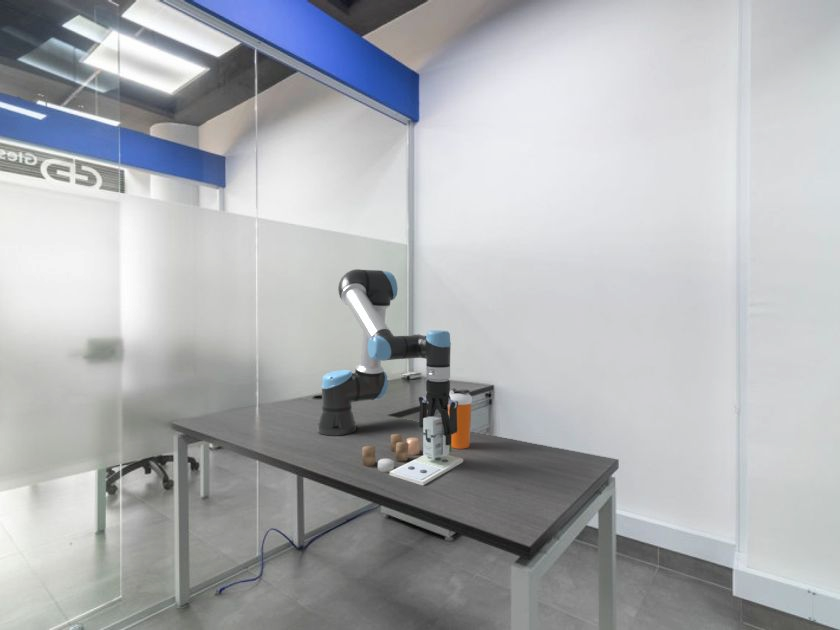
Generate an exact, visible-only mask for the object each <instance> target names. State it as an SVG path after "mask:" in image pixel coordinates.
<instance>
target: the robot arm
mask: <svg viewBox="0 0 840 630" xmlns="http://www.w3.org/2000/svg"><path fill="white" fill-rule="evenodd" d="M338 294H339V295H338V296H339V297H340V299H341V301H342V302H343V304H344V305H346V306H348V308H349V309H350V310H351V312H352V315H353V316H354V317H355V319H356V321H357V322H358V324H359V325H360V327H361V329H362V334H361V346H360V357H359V364H357V365H356V366H355V372H352V370H350V369H342V370H338V369H337V370H334V371H329V372H328V373H325V374H324V375H323V376H322V380H321V381H322V382H321V414H320V417H319V418H320V419H319V421H318V423H317V430H316V431H317V433H318V434H321V435H325V436H342V435H348V434H352V433H353V432H355V431H356V430H357V423H356V421H355V418H354V413H353V410H352V404H353V403H355V402H356V403H357V402H364V401H365V402H366V401H375V400H377V399H378V400H379V399H381V398H383V397H384V396H385V394H386V393H387V391H388V388H389V387H388V386H389V379H388V376H387V373H386V372H385V371H384V370H385V369H384V367H382V365H381V363H382V361H385V362H386V361H393V360H394V361H395V360H404V359H405V360H408V359H425V360H426V363H425V365H426V368H425V369H426V371H425V372H426V374H425V375H426V379H427V380H426V382H425V383H426V385H425V386H426V387H425V391H426V394H425V395H422V396H419V397H418V403H419V417H418V418H419V422H418V427H419V428H422V429H423V418H426V417H431V416H433V415H436V411H438V412H439V413H438V414H441V418H442V422H443V427H444V431H445V434H444V435H443V456H446V455H450V453H449V445H451V435H452V434H454V433H456V432H457V406H458V401H453V400H451V398H450V396H449V393H450V390H451V381H450V379H451V345H452V343H451V333H450V332H449V331H447V330H439V329H438V330H434V329H433V330H428V331H427V332H426V335H422V334H419V333H418V334H411V335H394V334H393V333H392V331H391V330H390V329H389V327H388V326H387V324H386V323H385V322H386V315H387V314H386V312H387V309H388V308H390V306H391V301H393V300H395V299H396V297H397V295H398V282H397V280H396V277H395V275H394V274H393V273H392V272H390V271H386V270H378V269H375V270H374V269H358V268H357V269H351V270H350V271H348V272H346V273H345V274H344V275H342V277H341V278H340V281H339V283H338ZM448 403H449V407H450V409H449V415H450V419H449V415H448Z"/></svg>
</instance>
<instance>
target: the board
mask: <svg viewBox="0 0 840 630" xmlns="http://www.w3.org/2000/svg"><path fill="white" fill-rule="evenodd" d="M462 463H464V458H461V457H457V456H453V455H450V454H448V455H446V456H443V455H442V456H440V457H437V458H435V459H434V458H431V457H428V456H425V455H421V456H419V457H417V458H415V459H413V460H411V461H409V462H407V463H405V464H402V465H401V466H398V467H396V468H394V470H392V471H390V472H389V476H391V477H394V478H397V479H401V480H404V481H406V482H410V483H413V484H417V485H420V486H425V485H426V484H428V483H430V482H432V481H433V480H435V479H436V478H438V477H440V476H442V475H443V474H445V473H446V472H449V471H451V470H452V469H454V468H455V467H457V466H458V465H460V464H462Z"/></svg>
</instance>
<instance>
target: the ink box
mask: <svg viewBox="0 0 840 630" xmlns="http://www.w3.org/2000/svg"><path fill="white" fill-rule="evenodd" d="M449 419H450V415H449ZM422 430H423V431H422V432H423V433H422V435H423V436H422V440H423V443H422V445H423V446H422V447H423V448H422V451H423V452H422V454H423V455H425V456H428V457H431V458H434V459H435V458H437V457H440V456H442V455H443V435H444V434H445V431H444V427H443V422H442V418H441V414H440V413H437V414H434V415H433V416H431V417H426V418H423V428H422ZM450 453H452V447H451V445H449V454H450ZM423 455H422V456H423Z"/></svg>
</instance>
